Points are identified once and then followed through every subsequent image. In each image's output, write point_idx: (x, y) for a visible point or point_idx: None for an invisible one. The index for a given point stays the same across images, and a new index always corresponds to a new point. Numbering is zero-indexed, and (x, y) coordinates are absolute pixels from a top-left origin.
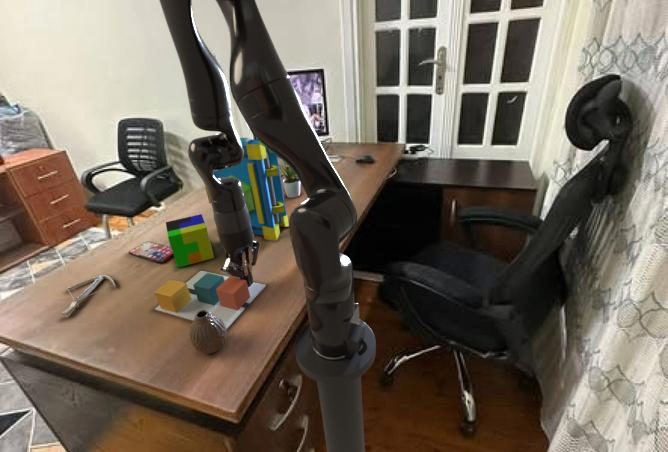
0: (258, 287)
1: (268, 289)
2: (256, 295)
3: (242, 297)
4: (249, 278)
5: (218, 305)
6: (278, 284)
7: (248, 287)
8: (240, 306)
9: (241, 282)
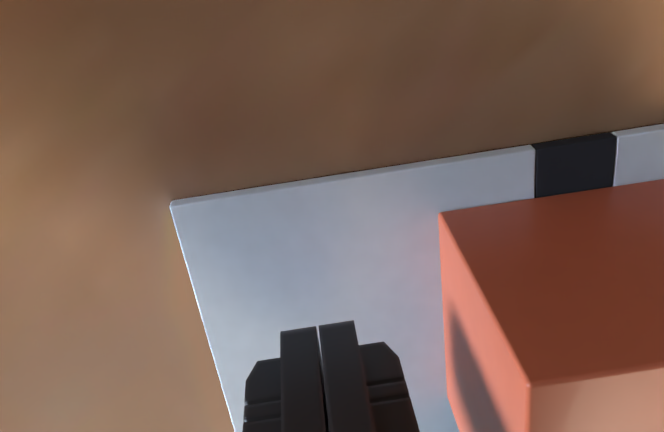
0: (255, 248)
1: (205, 125)
2: (382, 171)
3: (608, 240)
4: (338, 401)
5: None
6: (47, 72)
7: None
8: (636, 189)
9: (600, 413)
